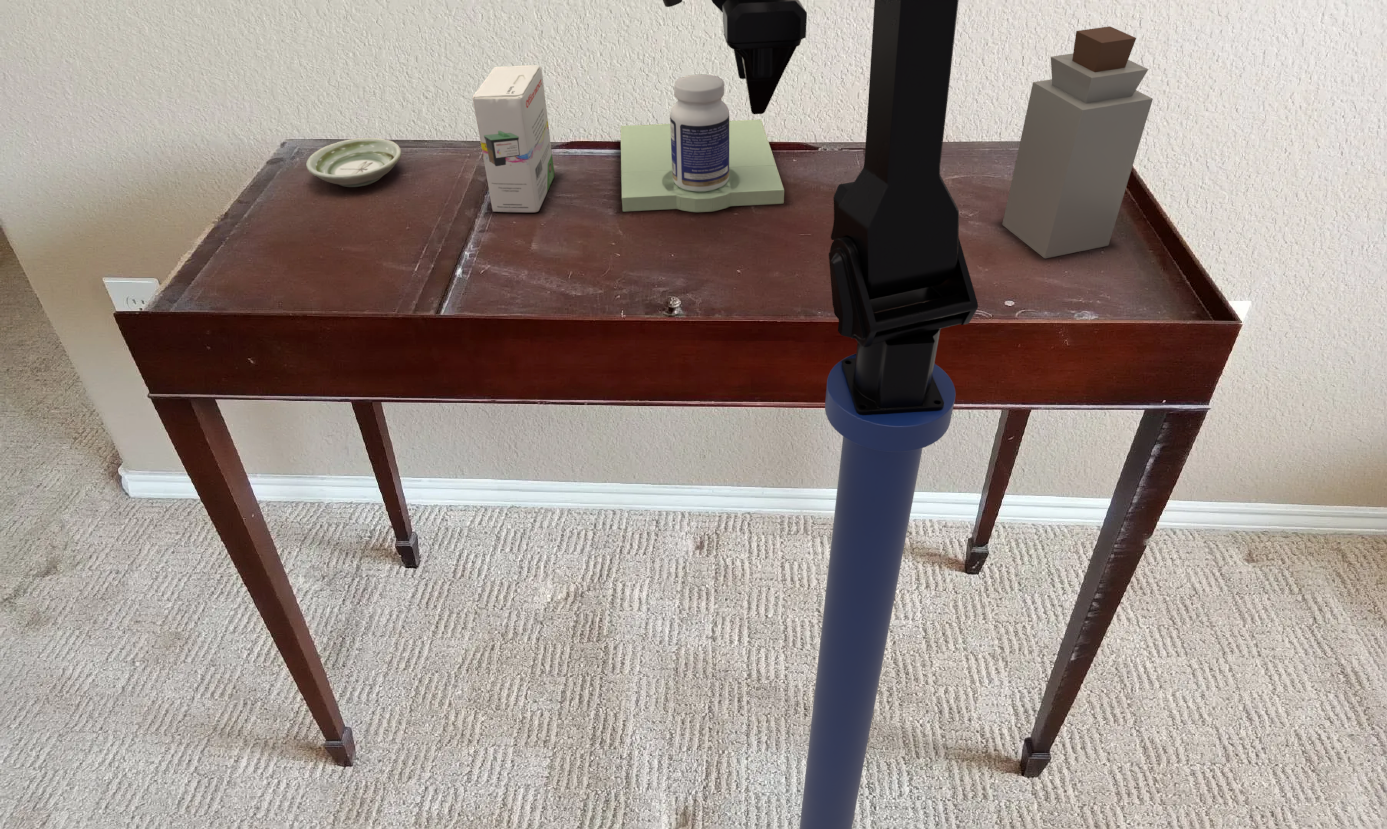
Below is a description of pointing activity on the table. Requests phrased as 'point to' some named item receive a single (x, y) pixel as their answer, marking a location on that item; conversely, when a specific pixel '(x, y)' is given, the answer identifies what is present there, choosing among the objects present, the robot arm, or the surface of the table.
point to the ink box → (515, 137)
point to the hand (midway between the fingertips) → (751, 94)
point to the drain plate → (656, 190)
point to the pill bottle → (699, 133)
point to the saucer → (354, 161)
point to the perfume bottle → (1078, 146)
